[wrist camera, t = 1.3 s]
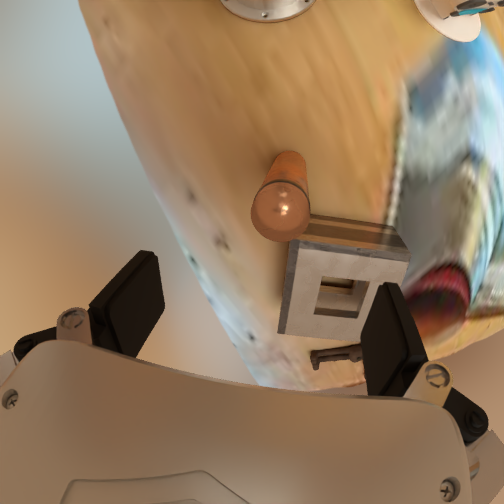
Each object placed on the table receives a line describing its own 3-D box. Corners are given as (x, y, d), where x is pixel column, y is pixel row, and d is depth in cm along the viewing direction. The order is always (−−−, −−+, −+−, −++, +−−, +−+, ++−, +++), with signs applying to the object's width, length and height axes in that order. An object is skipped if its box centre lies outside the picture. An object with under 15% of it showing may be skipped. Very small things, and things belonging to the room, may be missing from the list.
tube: (274, 148, 33) (251, 182, 18) (307, 152, 32) (314, 189, 17) (272, 180, 35) (248, 238, 20) (304, 184, 34) (306, 245, 19)
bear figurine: (301, 333, 43) (392, 322, 37) (304, 315, 46) (389, 304, 41) (318, 392, 50) (390, 385, 45) (321, 375, 54) (388, 368, 48)
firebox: (293, 211, 36) (290, 238, 29) (392, 226, 35) (411, 254, 28) (282, 297, 43) (277, 333, 36) (367, 306, 41) (376, 342, 34)
